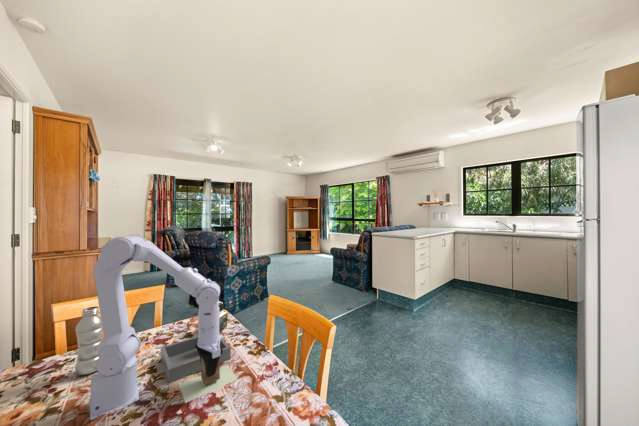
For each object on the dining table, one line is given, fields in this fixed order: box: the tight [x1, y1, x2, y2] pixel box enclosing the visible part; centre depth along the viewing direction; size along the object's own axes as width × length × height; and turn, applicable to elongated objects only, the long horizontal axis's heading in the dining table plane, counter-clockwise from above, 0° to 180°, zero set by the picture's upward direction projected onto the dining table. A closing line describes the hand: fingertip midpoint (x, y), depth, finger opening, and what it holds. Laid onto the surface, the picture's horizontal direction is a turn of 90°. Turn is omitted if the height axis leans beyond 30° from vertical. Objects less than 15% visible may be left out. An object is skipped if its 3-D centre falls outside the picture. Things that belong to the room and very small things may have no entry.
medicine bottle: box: [219, 301, 228, 334], centre depth 103 cm, size 7×7×12 cm
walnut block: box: [200, 358, 221, 385], centre depth 70 cm, size 4×4×6 cm
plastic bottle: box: [74, 306, 103, 376], centre depth 76 cm, size 6×7×20 cm
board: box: [178, 364, 238, 404], centre depth 70 cm, size 14×9×1 cm, turn 131°
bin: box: [160, 335, 232, 384], centre depth 81 cm, size 18×16×4 cm
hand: (208, 371), depth 70 cm, fingers closed on walnut block, 4 cm apart
